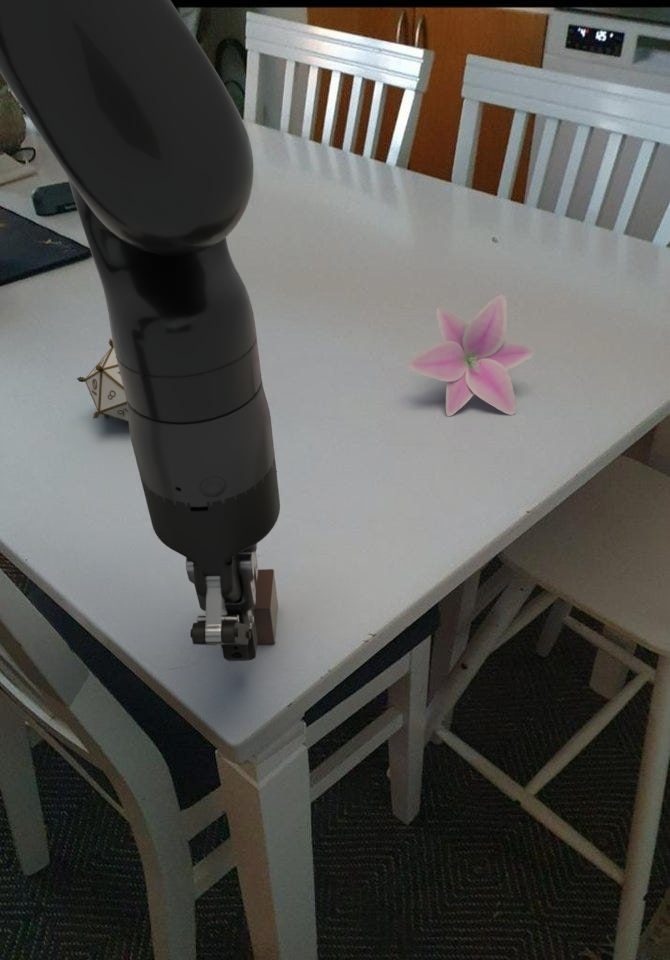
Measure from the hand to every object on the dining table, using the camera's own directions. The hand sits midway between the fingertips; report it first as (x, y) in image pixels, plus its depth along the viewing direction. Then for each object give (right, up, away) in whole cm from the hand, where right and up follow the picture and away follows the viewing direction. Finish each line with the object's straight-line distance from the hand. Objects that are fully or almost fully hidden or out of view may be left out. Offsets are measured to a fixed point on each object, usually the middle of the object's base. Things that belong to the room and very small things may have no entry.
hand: (241, 652), depth 56 cm
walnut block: (0, +1, +6) cm, 6 cm away
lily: (+21, +21, +29) cm, 41 cm away
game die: (-14, +18, +28) cm, 37 cm away
